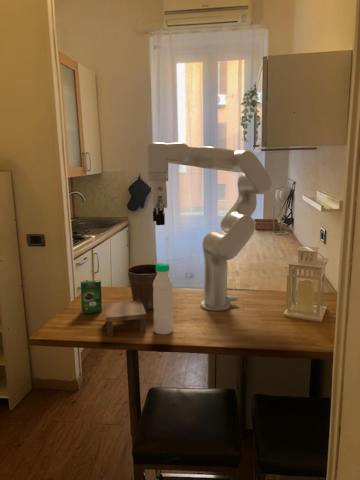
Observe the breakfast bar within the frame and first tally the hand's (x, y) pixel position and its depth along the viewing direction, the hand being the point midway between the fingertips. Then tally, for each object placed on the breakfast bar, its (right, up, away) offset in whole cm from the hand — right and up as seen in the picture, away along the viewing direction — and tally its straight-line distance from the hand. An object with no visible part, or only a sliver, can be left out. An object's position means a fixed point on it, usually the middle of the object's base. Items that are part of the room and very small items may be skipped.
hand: (158, 222), depth 144 cm
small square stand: (-12, -39, -2) cm, 41 cm away
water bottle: (+2, -40, -6) cm, 40 cm away
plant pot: (-6, -35, +19) cm, 40 cm away
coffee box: (-28, -36, +12) cm, 47 cm away
